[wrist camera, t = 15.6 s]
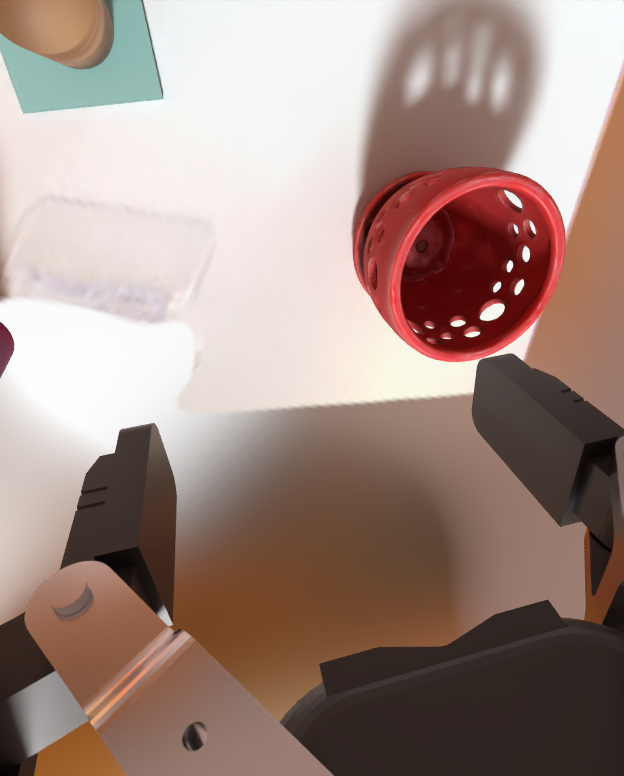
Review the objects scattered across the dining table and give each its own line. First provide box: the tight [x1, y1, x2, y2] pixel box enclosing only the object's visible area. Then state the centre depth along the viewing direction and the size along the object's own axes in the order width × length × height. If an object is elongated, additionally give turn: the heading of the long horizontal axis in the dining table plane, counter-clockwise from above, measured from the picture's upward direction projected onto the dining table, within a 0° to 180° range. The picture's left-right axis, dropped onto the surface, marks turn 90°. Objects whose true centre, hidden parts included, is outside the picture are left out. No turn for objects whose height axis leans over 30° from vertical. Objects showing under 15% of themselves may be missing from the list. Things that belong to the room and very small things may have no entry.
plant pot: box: [353, 167, 565, 362], centre depth 36 cm, size 13×13×12 cm
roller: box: [0, 0, 114, 69], centre depth 25 cm, size 5×5×10 cm
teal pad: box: [0, 0, 163, 114], centre depth 29 cm, size 9×9×1 cm
